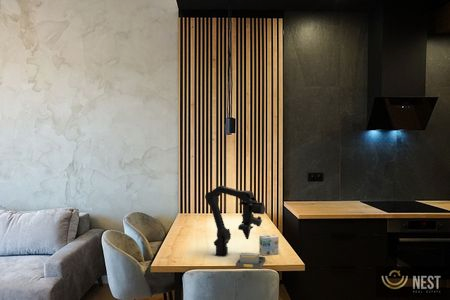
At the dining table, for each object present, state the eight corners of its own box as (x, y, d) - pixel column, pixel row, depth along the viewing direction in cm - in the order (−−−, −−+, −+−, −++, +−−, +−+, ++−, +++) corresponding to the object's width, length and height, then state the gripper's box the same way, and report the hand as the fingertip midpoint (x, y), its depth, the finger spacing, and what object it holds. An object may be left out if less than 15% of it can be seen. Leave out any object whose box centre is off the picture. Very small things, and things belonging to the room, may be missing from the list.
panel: (239, 265, 202) (239, 254, 202) (241, 263, 206) (241, 252, 206) (257, 266, 200) (257, 255, 200) (259, 264, 204) (258, 253, 204)
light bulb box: (262, 255, 221) (262, 237, 221) (259, 252, 228) (258, 235, 228) (279, 254, 224) (278, 236, 224) (275, 251, 230) (274, 234, 230)
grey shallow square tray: (235, 266, 201) (235, 263, 201) (241, 258, 215) (241, 255, 215) (260, 268, 197) (260, 265, 197) (265, 260, 212) (265, 256, 212)
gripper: (257, 216, 204) (257, 244, 204) (264, 210, 221) (263, 236, 222) (238, 215, 207) (238, 242, 207) (246, 209, 225) (246, 234, 225)
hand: (247, 239), depth 215 cm, fingers closed
